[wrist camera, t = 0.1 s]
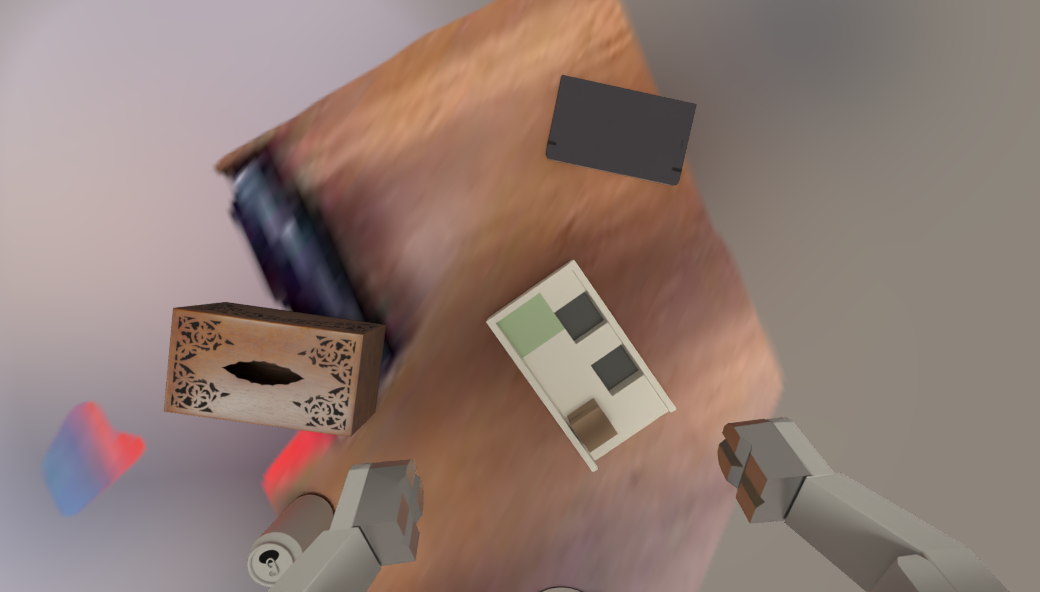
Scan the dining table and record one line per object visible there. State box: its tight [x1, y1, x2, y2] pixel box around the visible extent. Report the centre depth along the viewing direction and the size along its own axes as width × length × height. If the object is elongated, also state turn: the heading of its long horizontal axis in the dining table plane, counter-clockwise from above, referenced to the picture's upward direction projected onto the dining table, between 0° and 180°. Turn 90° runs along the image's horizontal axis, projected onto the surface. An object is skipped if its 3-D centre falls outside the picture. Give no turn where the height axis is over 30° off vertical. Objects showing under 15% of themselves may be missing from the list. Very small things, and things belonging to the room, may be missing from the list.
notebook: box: [546, 75, 696, 185], centre depth 63 cm, size 13×2×21 cm
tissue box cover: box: [164, 302, 386, 437], centre depth 60 cm, size 26×14×10 cm, turn 82°
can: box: [247, 495, 334, 587], centre depth 61 cm, size 8×8×12 cm
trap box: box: [486, 260, 676, 472], centre depth 63 cm, size 28×16×6 cm, turn 35°
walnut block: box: [567, 398, 618, 453], centre depth 61 cm, size 5×5×4 cm
